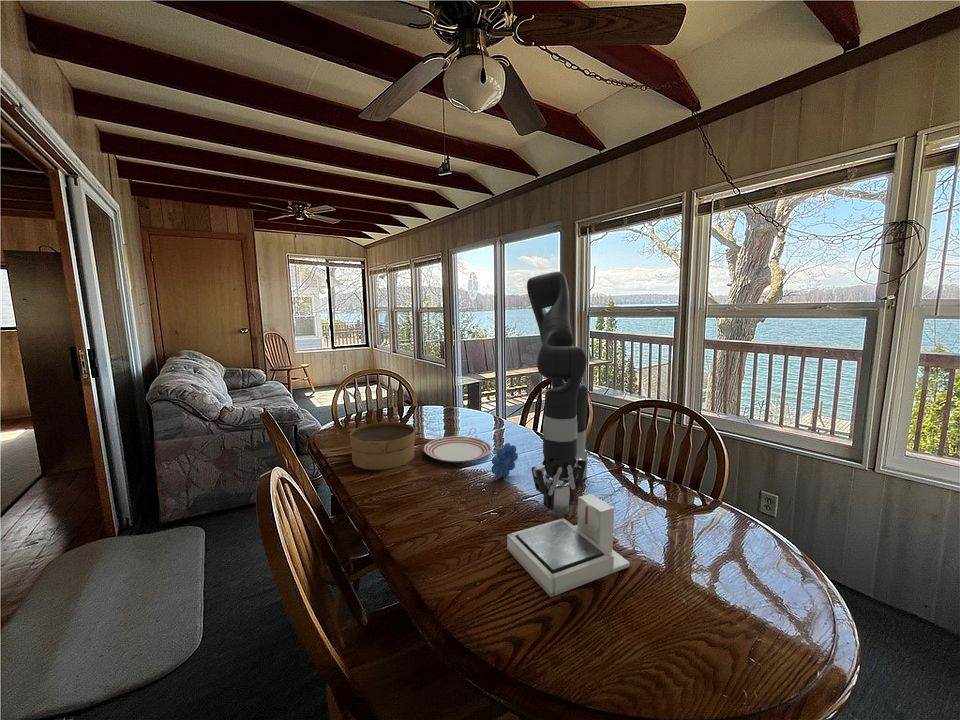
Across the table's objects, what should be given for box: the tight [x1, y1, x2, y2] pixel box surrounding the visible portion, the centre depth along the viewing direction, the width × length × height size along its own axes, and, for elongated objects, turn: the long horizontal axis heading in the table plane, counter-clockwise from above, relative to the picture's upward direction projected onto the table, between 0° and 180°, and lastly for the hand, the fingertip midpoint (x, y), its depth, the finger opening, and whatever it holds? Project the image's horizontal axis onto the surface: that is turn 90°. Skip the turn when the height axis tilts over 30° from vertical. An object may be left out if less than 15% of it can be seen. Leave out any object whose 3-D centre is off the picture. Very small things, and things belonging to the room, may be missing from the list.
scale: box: [506, 493, 631, 598], centre depth 94 cm, size 22×18×12 cm
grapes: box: [490, 442, 519, 479], centre depth 139 cm, size 12×7×12 cm, turn 127°
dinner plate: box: [423, 435, 493, 464], centre depth 161 cm, size 27×27×3 cm
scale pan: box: [517, 521, 603, 574], centre depth 93 cm, size 14×15×1 cm
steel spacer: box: [548, 479, 570, 516], centre depth 91 cm, size 5×5×6 cm
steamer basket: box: [349, 421, 416, 470], centre depth 158 cm, size 25×25×11 cm
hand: (558, 505), depth 92 cm, fingers closed on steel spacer, 4 cm apart
